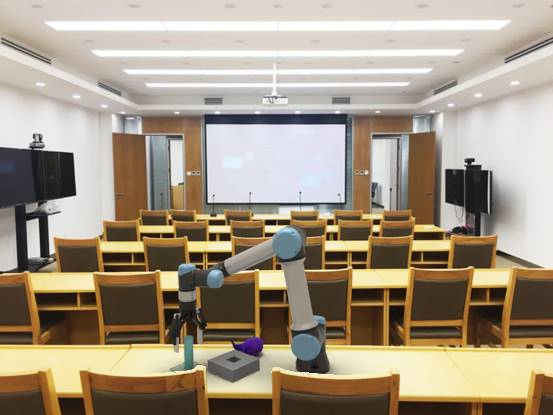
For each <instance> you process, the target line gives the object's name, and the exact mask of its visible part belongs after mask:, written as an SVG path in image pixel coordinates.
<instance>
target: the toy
mask: <svg viewBox="0 0 553 415" xmlns="http://www.w3.org/2000/svg"><path fill="white" fill-rule="evenodd" d="M230 342H231V346H232V348H233V350H237V351H240V352H243V353H245V354H248V355H251V356H254V357H255V356H257V355H260V354H261V353H262V352H263V350H264V341H263V340H262V338H260V337H258V336H254V337H251V338H248V339H246V340H245V341H244V342H241V343H235V341H234V340H233V338H230Z"/></svg>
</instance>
